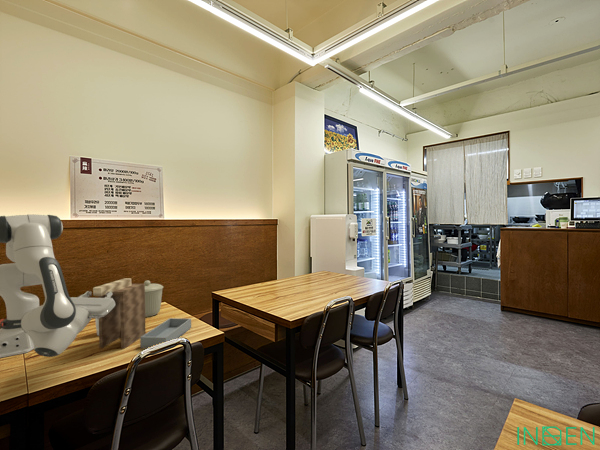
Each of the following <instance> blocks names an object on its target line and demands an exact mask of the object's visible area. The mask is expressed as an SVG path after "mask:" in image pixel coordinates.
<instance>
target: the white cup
mask: <svg viewBox="0 0 600 450" xmlns="http://www.w3.org/2000/svg"><path fill="white" fill-rule="evenodd" d="M94 321H95V328H96V329H95V330H96V335H97V336H98V337H99V318H94Z"/></svg>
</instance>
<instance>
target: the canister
mask: <svg viewBox="0 0 600 450" xmlns="http://www.w3.org/2000/svg"><path fill="white" fill-rule="evenodd" d="M143 284H145V318H149V317H154V316H156V315H158V314H159V312H160V311H161V306H162V296H163V289H164V286H163V285H162V284H159V283H151V281H150V280H145V281H144V282H143Z"/></svg>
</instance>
